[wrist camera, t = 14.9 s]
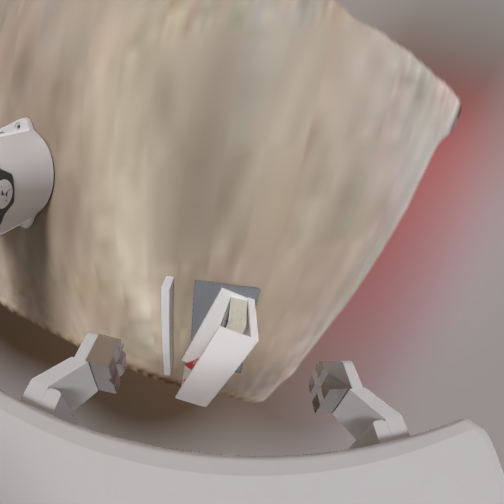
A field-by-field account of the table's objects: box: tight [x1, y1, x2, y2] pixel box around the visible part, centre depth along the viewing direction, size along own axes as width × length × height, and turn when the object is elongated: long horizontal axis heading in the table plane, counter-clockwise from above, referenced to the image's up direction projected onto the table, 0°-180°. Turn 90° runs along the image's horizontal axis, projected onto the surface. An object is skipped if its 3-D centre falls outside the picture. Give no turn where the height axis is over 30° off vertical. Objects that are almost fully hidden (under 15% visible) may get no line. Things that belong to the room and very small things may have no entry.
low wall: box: [161, 276, 174, 375], centre depth 45 cm, size 1×20×4 cm, turn 170°
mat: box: [191, 280, 260, 373], centre depth 47 cm, size 10×20×1 cm, turn 170°
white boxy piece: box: [175, 288, 259, 407], centre depth 43 cm, size 20×6×9 cm, turn 152°
